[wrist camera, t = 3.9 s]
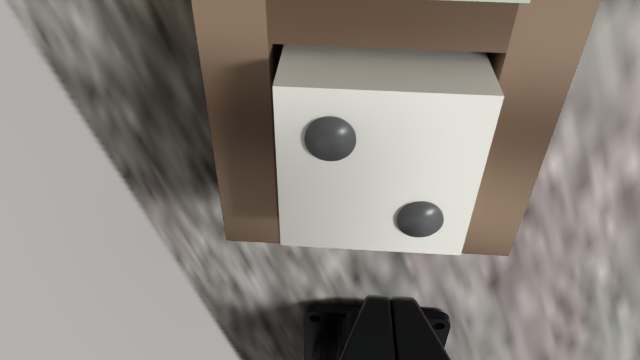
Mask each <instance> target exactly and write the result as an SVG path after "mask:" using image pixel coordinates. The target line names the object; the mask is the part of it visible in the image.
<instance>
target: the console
mask: <svg viewBox="0 0 640 360" xmlns="http://www.w3.org/2000/svg"><path fill="white" fill-rule="evenodd" d="M600 2H601V0H531V1H530V3H508V2H479V1H451V0H191V3H192V10H193V16H194V23H195V30H196V37H197V44H198V50H199V57H200V64H201V71H202V78H203V84H204V91H205V98H206V105H207V112H208V119H209V125H210V132H211V139H212V146H213V153H214V159H215V166H216V173H217V180H218V187H219V194H220V200H221V207H222V214H223V221H224V228H225V234H226V240H229V241H247V242H265V243H280V224H279V204H278V185H277V165H276V146H275V126H274V107H273V87H272V86H273V82H274V79H275V75H276V72H277V68H278V64H279V61H280V57H281V54H282V50H283V46H284V44H289V45H315V46H341V47H366V48H392V49H417V50H443V51H468V52H486V55H487V57H488V59H489V62H490V64H491V66H492V69H493V71H494V73H495V75H496V78H497V80H498V82H499V85H500V87H501V89H502V92H503V94H504V99H503V103H502V107H501V110H500V114H499V118H498V121H497V125H496V129H495V132H494V136H493V140H492V143H491V147H490V150H489V154H488V158H487V161H486V165H485V169H484V172H483V176H482V180H481V183H480V187H479V191H478V194H477V198H476V201H475V205H474V209H473V212H472V216H471V220H470V223H469V227H468V231H467V234H466V238H465V242H464V245H463V249H462V253H465V254H484V255H502V256H509V253H510V251H511V248H512V245H513V242H514V240H515V237H516V234H517V231H518V228H519V226H520V223H521V220H522V217H523V215H524V212H525V209H526V206H527V204H528V201H529V198H530V195H531V192H532V190H533V187H534V184H535V181H536V179H537V176H538V173H539V170H540V168H541V165H542V162H543V159H544V157H545V154H546V151H547V148H548V145H549V143H550V140H551V137H552V134H553V132H554V129H555V126H556V123H557V121H558V118H559V115H560V112H561V109H562V107H563V104H564V101H565V98H566V96H567V93H568V90H569V87H570V85H571V82H572V79H573V76H574V74H575V71H576V68H577V65H578V62H579V60H580V57H581V54H582V51H583V49H584V46H585V43H586V40H587V38H588V35H589V32H590V29H591V26H592V24H593V21H594V18H595V15H596V13H597V10H598V7H599V4H600Z"/></svg>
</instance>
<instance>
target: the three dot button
mask: <svg viewBox="0 0 640 360" xmlns="http://www.w3.org/2000/svg"><path fill="white" fill-rule="evenodd" d="M451 1H479V2H508V3H530V1H531V0H451Z"/></svg>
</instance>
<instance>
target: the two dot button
mask: <svg viewBox="0 0 640 360" xmlns="http://www.w3.org/2000/svg"><path fill="white" fill-rule="evenodd" d="M272 87H273V107H274V126H275V146H276V165H277V185H278V204H279V224H280V243H281V245H284V246H302V247H320V248H338V249H356V250H374V251H392V252H411V253H429V254H447V255H461V253H462V249H463V245H464V242H465V238H466V234H467V231H468V227H469V223H470V220H471V216H472V212H473V209H474V205H475V201H476V198H477V194H478V191H479V187H480V183H481V180H482V176H483V172H484V169H485V165H486V161H487V158H488V154H489V150H490V147H491V143H492V140H493V136H494V132H495V129H496V125H497V121H498V118H499V114H500V110H501V107H502V103H503V99H504V94H503V92H502V89H501V87H500V85H499V82H498V80H497V78H496V75H495V73H494V71H493V69H492V66H491V64H490V62H489V59H488V57H487V55H486V52H468V51H443V50H417V49H392V48H366V47H341V46H315V45H289V44H284V46H283V50H282V54H281V57H280V61H279V64H278V68H277V72H276V75H275V79H274V82H273V86H272Z"/></svg>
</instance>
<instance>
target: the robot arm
mask: <svg viewBox="0 0 640 360" xmlns="http://www.w3.org/2000/svg"><path fill="white" fill-rule="evenodd" d="M449 330H450V320H449V316H448V315H447V314H446V313H444V312H435V311H422V310H421V308H420V307H419V305H418V303H417V302H416V300H415V299H414V298H411V297H399V296H394V297H392V298H391V299H390V298H389V297H388V296H383V295H368V296H367V297H366V298H365V301H364V303H363V305H362V307H351V306H335V305H318V304H314V305H309V306H307V307H306V308H305V312H304V360H451V359H450V358H449V356H448V354H447V353H446V351H445V349H444V347H445V343H446V340H447V337H448V333H449Z"/></svg>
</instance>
